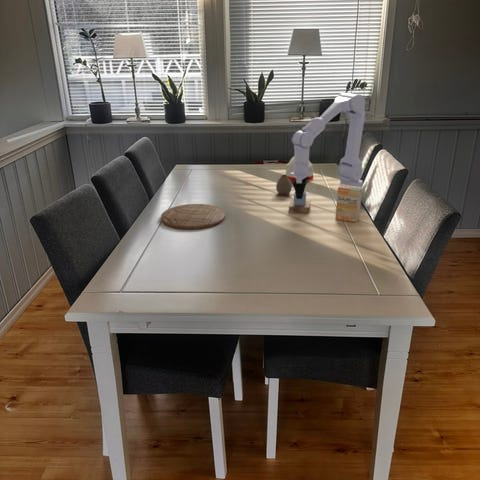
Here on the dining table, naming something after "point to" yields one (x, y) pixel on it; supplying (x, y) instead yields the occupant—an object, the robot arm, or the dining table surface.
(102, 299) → the dining table surface
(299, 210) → the base
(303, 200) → the cube
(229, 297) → the dining table surface
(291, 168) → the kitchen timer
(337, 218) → the supplement box
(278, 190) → the vase
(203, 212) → the trivet
